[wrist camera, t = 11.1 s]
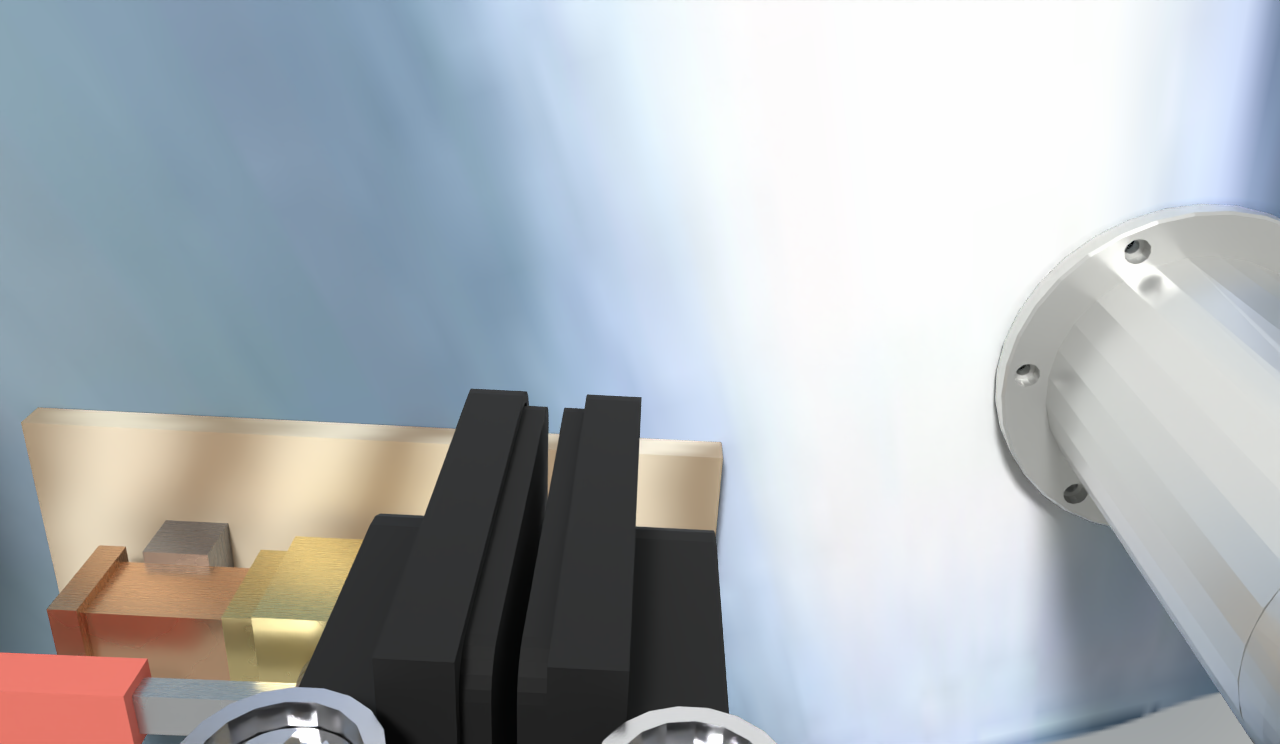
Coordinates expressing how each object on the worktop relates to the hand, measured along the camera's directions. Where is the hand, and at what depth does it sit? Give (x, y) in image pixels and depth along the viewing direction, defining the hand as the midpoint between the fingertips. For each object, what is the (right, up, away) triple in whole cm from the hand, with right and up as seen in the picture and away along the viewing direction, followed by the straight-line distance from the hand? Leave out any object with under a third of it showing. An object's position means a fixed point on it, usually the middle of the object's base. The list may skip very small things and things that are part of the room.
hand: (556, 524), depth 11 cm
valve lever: (-15, -9, +26) cm, 32 cm away
